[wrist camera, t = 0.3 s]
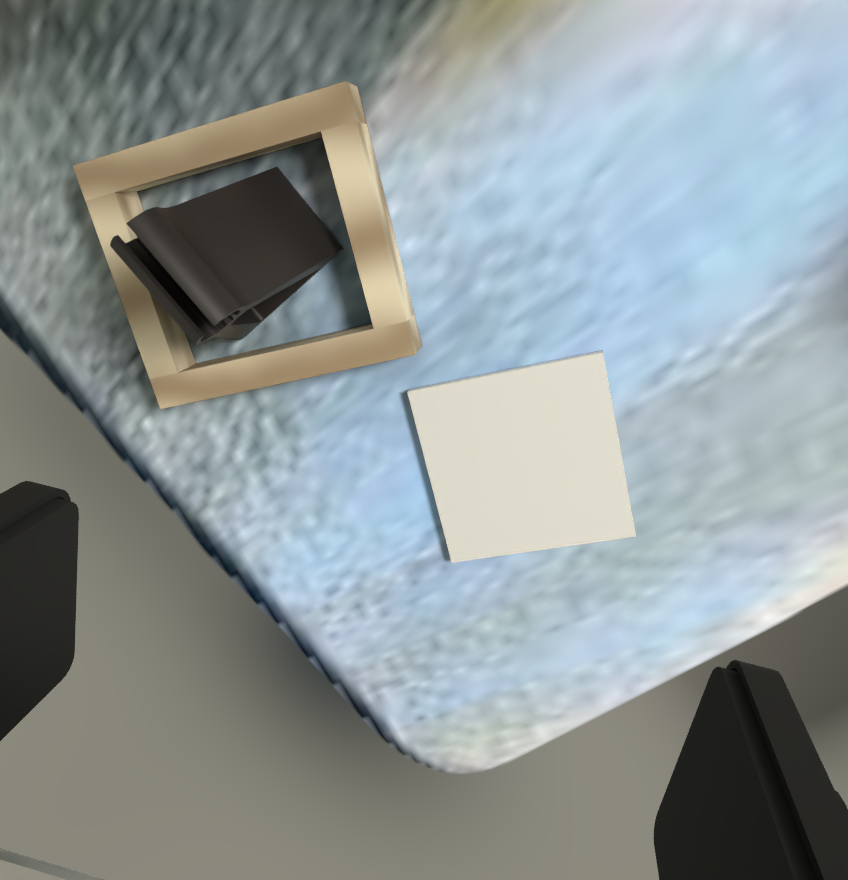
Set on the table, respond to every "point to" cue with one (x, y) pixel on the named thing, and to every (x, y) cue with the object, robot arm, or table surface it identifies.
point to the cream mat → (524, 458)
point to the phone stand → (228, 254)
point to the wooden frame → (225, 143)
